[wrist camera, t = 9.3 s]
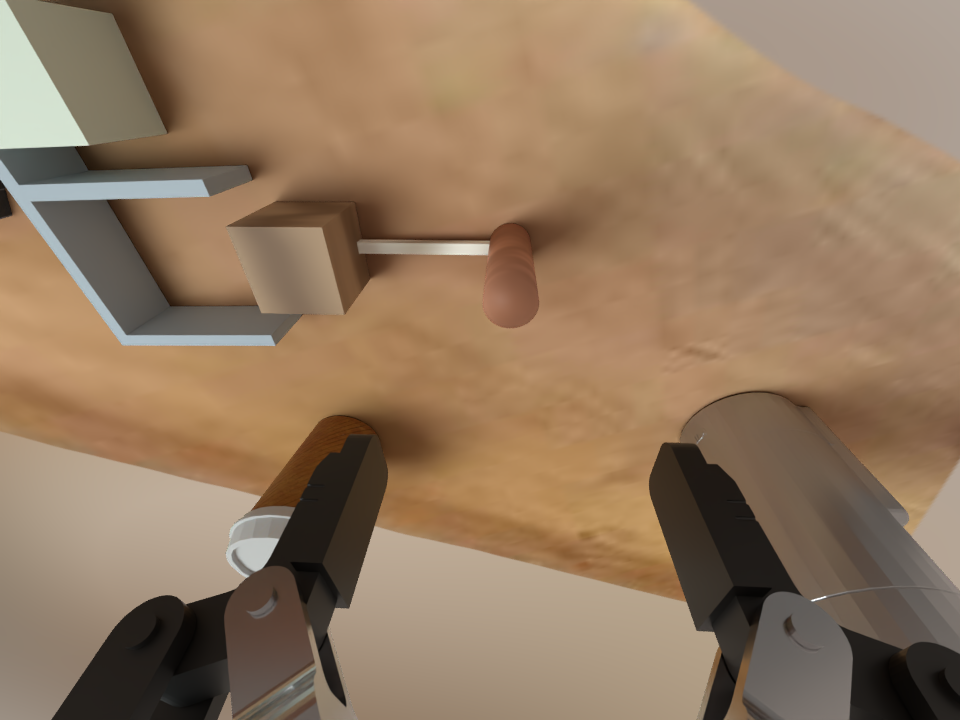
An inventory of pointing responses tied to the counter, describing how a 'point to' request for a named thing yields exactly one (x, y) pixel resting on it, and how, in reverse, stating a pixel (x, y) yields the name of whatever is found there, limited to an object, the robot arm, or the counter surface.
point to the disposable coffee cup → (286, 495)
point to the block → (68, 79)
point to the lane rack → (127, 245)
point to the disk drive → (4, 203)
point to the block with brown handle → (364, 261)
